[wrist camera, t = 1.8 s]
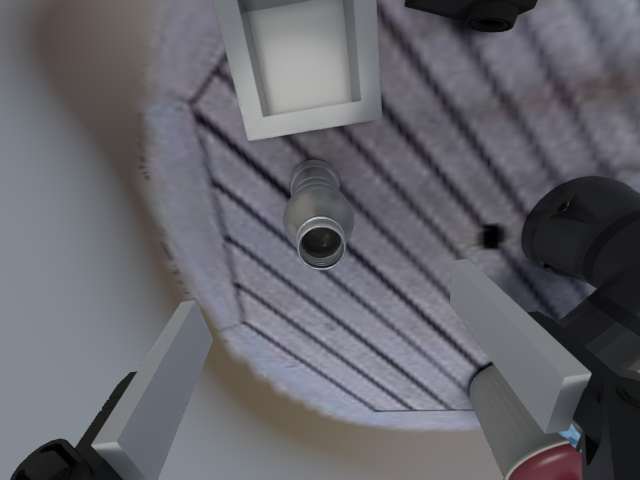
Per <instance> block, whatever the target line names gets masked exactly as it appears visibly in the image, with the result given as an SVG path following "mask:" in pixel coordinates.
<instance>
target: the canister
mask: <svg viewBox="0 0 640 480" xmlns="http://www.w3.org/2000/svg"><path fill="white" fill-rule="evenodd" d="M469 391H470V399H471V402H472V405H473V408H474V410H475V413H476V415H477V418H478V420H479V423H480V425H481V427H482V430H483V432H484V434H485V437H486V439H487V441H488V444H489V446H490V448H491V450H492V453H493V455H494V457H495V460H496V462H497V464H498V466H499V468H500V471H501V473H502V475H503V480H582V457H581V452H577V451H575V447H573V446H572V445H571V444H570V442H569V441H568V439H567V438H566V437H563V436H562V435H560V434H559V433H558V432H554V433H547V434H545V433H544V432H543V431H542V429H541V428H540V426H539V425H538V424H537V422H536V421H535V420H534V418H533V417H532V416H531V414H530V413H529V411H528V410H527V409H526V407H525V406H524V405H523V403H522V402H521V401H520V399H519V398H518V396H517V395H516V394H515V392H514V391H513V390H512V388H511V387H510V386H509V384H508V383H507V381H506V380H505V379H504V377H503V376H502V375H501V373H500V372H499V371H498V369H497V368H496V367H495V365H491V366H489V367H487V368H485V369H483V370H482V371H481V372H479V374H477V375H476V377H474V379H473V380H472V382H471V385H470V390H469Z"/></svg>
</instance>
